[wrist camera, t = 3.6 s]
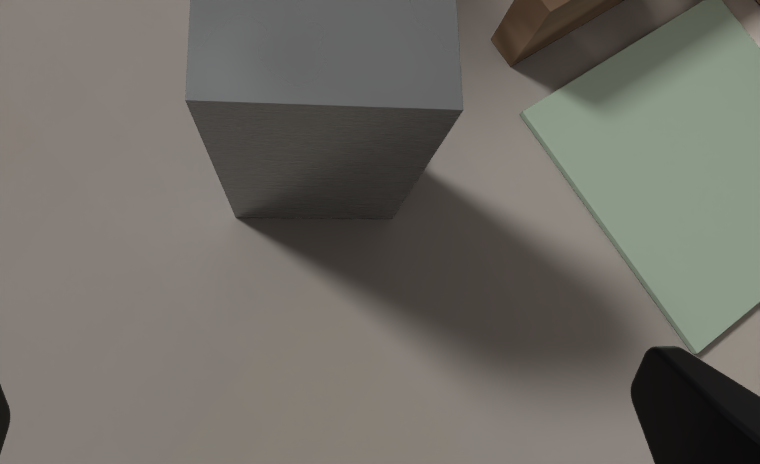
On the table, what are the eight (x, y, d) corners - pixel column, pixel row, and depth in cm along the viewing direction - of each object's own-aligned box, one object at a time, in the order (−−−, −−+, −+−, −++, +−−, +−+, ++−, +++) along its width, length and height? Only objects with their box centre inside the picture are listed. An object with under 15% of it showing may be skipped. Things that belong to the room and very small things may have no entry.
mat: (874, 203, 26) (881, 201, 25) (692, 353, 23) (697, 353, 23) (711, -4, 27) (716, -8, 27) (519, 114, 24) (522, 111, 24)
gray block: (391, 218, 22) (462, 110, 13) (235, 218, 21) (184, 100, 12) (386, 58, 24) (446, -149, 14) (240, 51, 23) (199, -174, 13)
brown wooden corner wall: (920, 165, 27) (1026, 131, 23) (709, 339, 23) (791, 335, 19) (715, -88, 28) (782, -159, 24) (490, 39, 25) (526, -21, 21)
